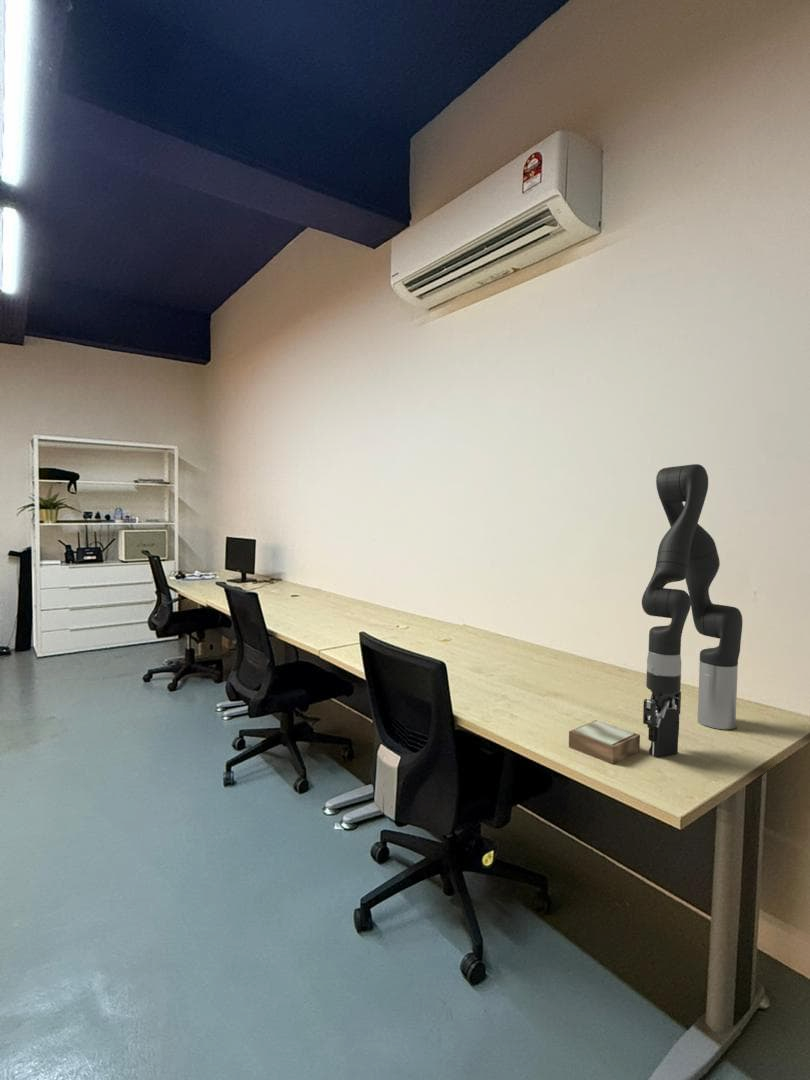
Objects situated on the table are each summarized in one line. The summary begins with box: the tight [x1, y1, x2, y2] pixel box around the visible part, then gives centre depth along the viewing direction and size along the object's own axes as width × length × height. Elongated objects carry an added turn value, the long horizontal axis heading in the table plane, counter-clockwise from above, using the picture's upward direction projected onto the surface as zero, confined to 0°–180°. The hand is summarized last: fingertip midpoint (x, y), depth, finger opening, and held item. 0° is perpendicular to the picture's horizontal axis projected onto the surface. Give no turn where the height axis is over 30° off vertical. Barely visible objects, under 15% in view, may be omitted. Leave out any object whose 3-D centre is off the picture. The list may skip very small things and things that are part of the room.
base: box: [568, 719, 641, 765], centre depth 136 cm, size 12×12×4 cm
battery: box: [646, 708, 680, 758], centre depth 134 cm, size 7×4×11 cm, turn 106°
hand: (661, 737), depth 134 cm, fingers closed on battery, 7 cm apart
